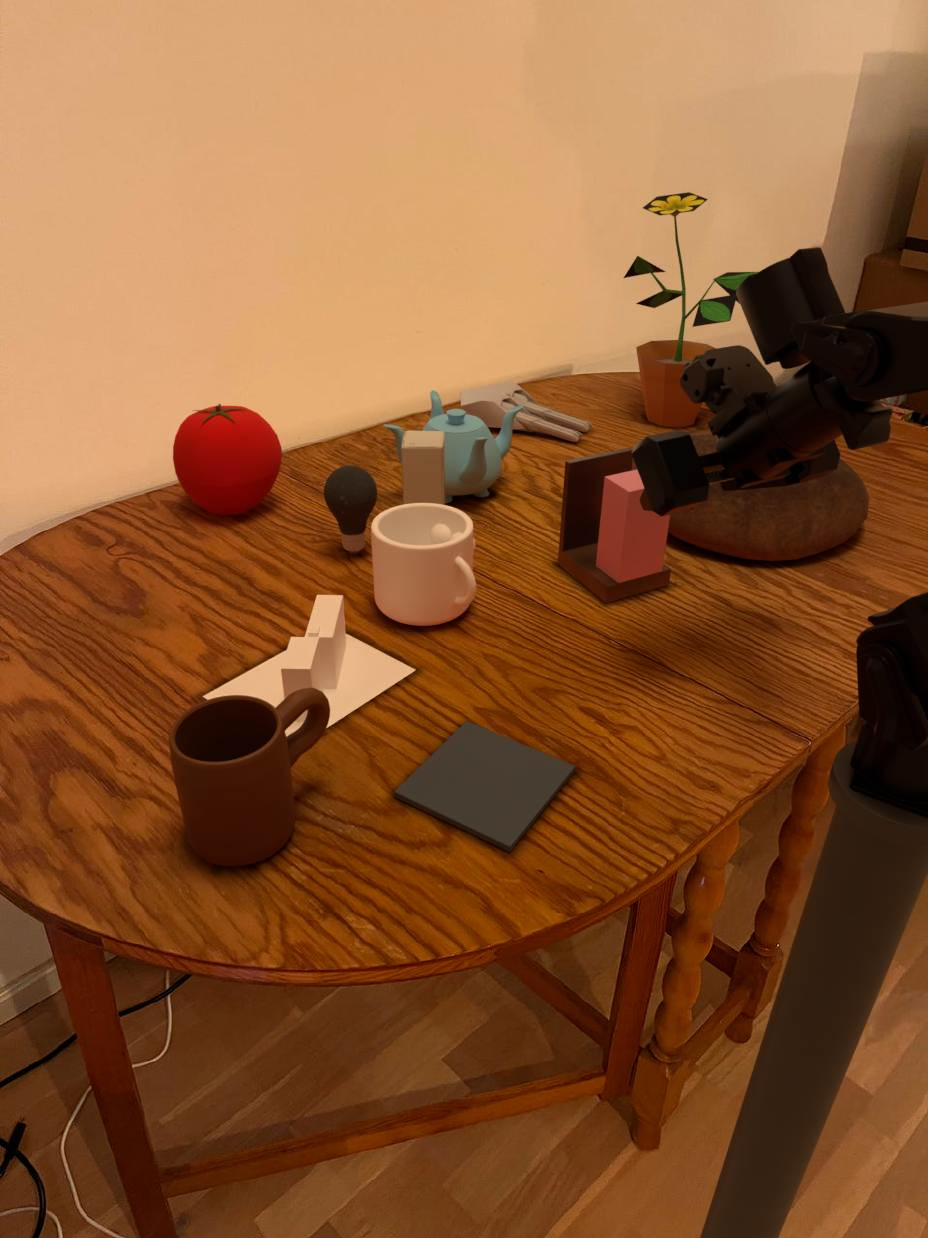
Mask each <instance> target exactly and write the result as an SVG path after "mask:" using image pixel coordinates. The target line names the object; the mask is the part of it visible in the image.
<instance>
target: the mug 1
mask: <svg viewBox="0 0 928 1238" xmlns="http://www.w3.org/2000/svg"><path fill="white" fill-rule="evenodd" d="M306 710H308V713H307V716H306V719H305V721H304V723H303V724H302V726H301V727H300V728H299V729H298V730H296V731H295V732H293V733H291V734H290V735H288V736H287V737H286V734H285V730H286V729H287V728H288V727H289V726H290V725H291V724H292V723H293V722H294V721H295V720H296V719H297V718H299V717H300V716H301V715H302V714H303V713H304V712H305V711H306ZM329 718H330V705H329V701H328V699H327V697H326V696H325V694H324V693H323V692H322V691H320V690H318V689H315V688H313V687H312V688H304V689H300V690H297V691H295V692H293V693H291V694H289V695H288V696H287V697H286V698H285V699H284V700H283V701H282V702H281V703H280V704H279V705H278V706H277V707H276V708H275V707H274V706H273V705H271V704H270V703H268V702H266V701H264V700H262V699H259V698H256V697H252V696H245V695H229V696H221V697H216V698H212V699H209V700H207V699H205V700H204V701H201V702H198V703H197V704H195V705H193V706H190V707H189V708H188V709H186V710H185V711H184V712H183V713H181V714H180V715H179V716H178V717H177V718H176V720H175V721H174V722H173V724H172V726H171V728H170V731H169V734H168V745H169V752H170V753H169V754H170V764H171V769H172V774H173V778H174V783H175V788H176V793H177V798H178V803H179V806H180V811H181V815H182V819H183V822H184V823H183V824H184V828H185V829H184V830H185V833H186V836H187V839H188V842H189V844H190V846H191V848H192V850H193V851H194V852H195V853H196V854H197V855H198V856H200V858H201V859H204V861H207V862H209V863H212V864H214V865H218V866H221V867H222V866H223V867H231V868H232V867H233V868H234V867H244V866H249V865H254V864H256V863H259V862H262V861H264V860H267V859H268V858H270V857H272V856H273V855H275V854H276V853H277V852H279V851H280V850H281V849H282V848H283V847H284V846H285V844H286V843H287V842H288V841H289V839H290V837H291V836H292V834H293V831H294V828H295V824H296V808H295V807H296V806H295V797H294V788H293V778H292V777H293V776H292V770H291V769H292V768H293V766H294V765H295V763H297V761H298V760H299V758H300V757H301V756H302V755H303V754H305V753H306V752H308V751H310V750H311V749H312V748H313V747H314V746H315V745H316V744H317V743H318V742H319V741H320V739H321V738H322V737H323V735H324V733H325V732H326V730H327V728H326V727H327V725H328V722H329Z"/></svg>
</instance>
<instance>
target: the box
mask: <svg viewBox="0 0 928 1238" xmlns="http://www.w3.org/2000/svg"><path fill="white" fill-rule="evenodd" d="M401 456H402V464H401V485H402V487H401V488H402V505H404V504H411V503H435V504H442V505H446V503H445V469H444V431H422V430H409V429H408V430H404V436H403V441H402V447H401Z"/></svg>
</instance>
